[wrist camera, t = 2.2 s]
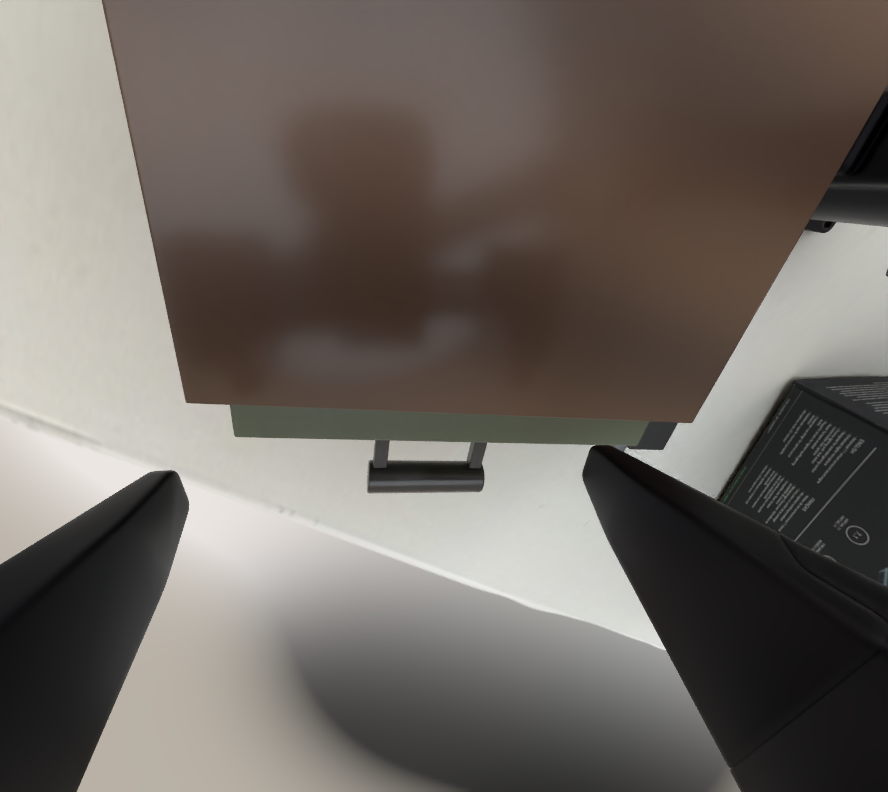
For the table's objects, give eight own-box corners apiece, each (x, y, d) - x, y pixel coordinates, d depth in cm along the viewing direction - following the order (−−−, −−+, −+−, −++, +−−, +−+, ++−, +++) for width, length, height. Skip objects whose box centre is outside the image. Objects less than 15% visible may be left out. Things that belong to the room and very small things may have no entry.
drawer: (517, 432, 24) (585, 549, 16) (294, 426, 21) (252, 566, 13) (661, -37, 14) (1019, -295, 6) (265, -186, 11) (16, -1070, 3)
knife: (632, 358, 24) (663, 380, 21) (665, 361, 24) (700, 383, 22) (580, 476, 29) (601, 505, 26) (609, 476, 29) (632, 505, 27)
